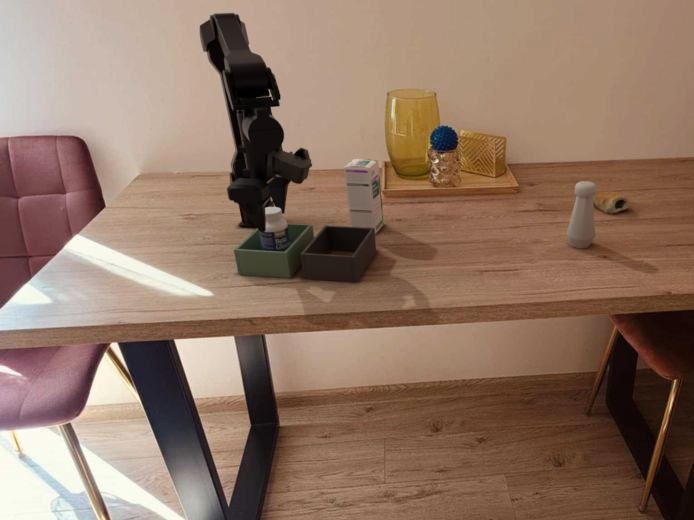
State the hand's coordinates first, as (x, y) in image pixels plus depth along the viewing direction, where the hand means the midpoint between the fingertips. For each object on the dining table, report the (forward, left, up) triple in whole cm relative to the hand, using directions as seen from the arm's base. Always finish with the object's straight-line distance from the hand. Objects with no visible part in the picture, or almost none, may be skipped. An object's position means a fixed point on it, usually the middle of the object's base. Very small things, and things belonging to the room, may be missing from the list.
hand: (272, 222), depth 121 cm
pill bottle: (0, 0, -8) cm, 8 cm away
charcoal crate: (+13, 0, -8) cm, 15 cm away
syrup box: (+13, +19, -8) cm, 24 cm away
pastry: (+66, +40, -8) cm, 77 cm away
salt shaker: (+59, +17, -8) cm, 62 cm away
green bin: (0, 0, -8) cm, 8 cm away
